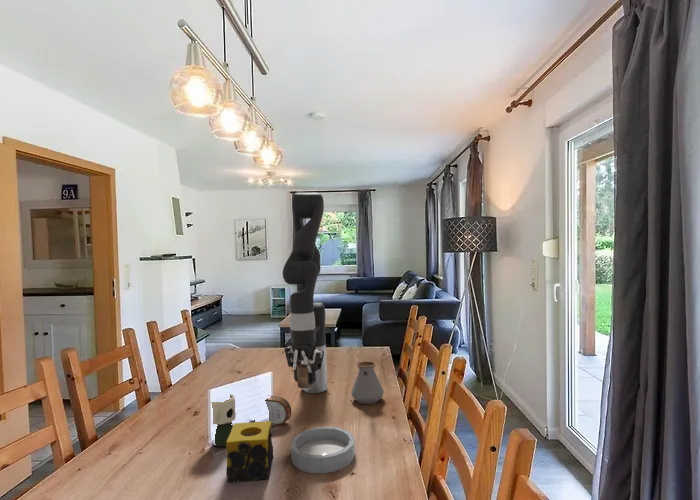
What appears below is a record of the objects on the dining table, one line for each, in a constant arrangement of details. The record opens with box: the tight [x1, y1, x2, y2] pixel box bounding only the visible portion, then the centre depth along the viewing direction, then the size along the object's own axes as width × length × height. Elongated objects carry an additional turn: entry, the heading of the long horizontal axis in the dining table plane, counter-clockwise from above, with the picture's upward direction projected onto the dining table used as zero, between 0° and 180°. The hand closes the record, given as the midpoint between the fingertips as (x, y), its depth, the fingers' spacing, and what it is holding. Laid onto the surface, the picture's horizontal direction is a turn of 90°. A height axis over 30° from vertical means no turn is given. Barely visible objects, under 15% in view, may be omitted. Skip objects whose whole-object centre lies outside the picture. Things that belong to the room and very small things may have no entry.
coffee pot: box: [350, 360, 385, 405], centre depth 136 cm, size 21×12×15 cm, turn 176°
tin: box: [265, 395, 292, 426], centre depth 126 cm, size 15×3×8 cm, turn 71°
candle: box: [225, 421, 274, 484], centre depth 99 cm, size 10×10×10 cm
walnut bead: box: [296, 363, 313, 389], centre depth 122 cm, size 5×5×6 cm
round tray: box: [290, 426, 356, 474], centre depth 105 cm, size 16×16×4 cm
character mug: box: [211, 393, 237, 447], centre depth 113 cm, size 11×7×13 cm, turn 177°
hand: (304, 382), depth 122 cm, fingers closed on walnut bead, 4 cm apart
